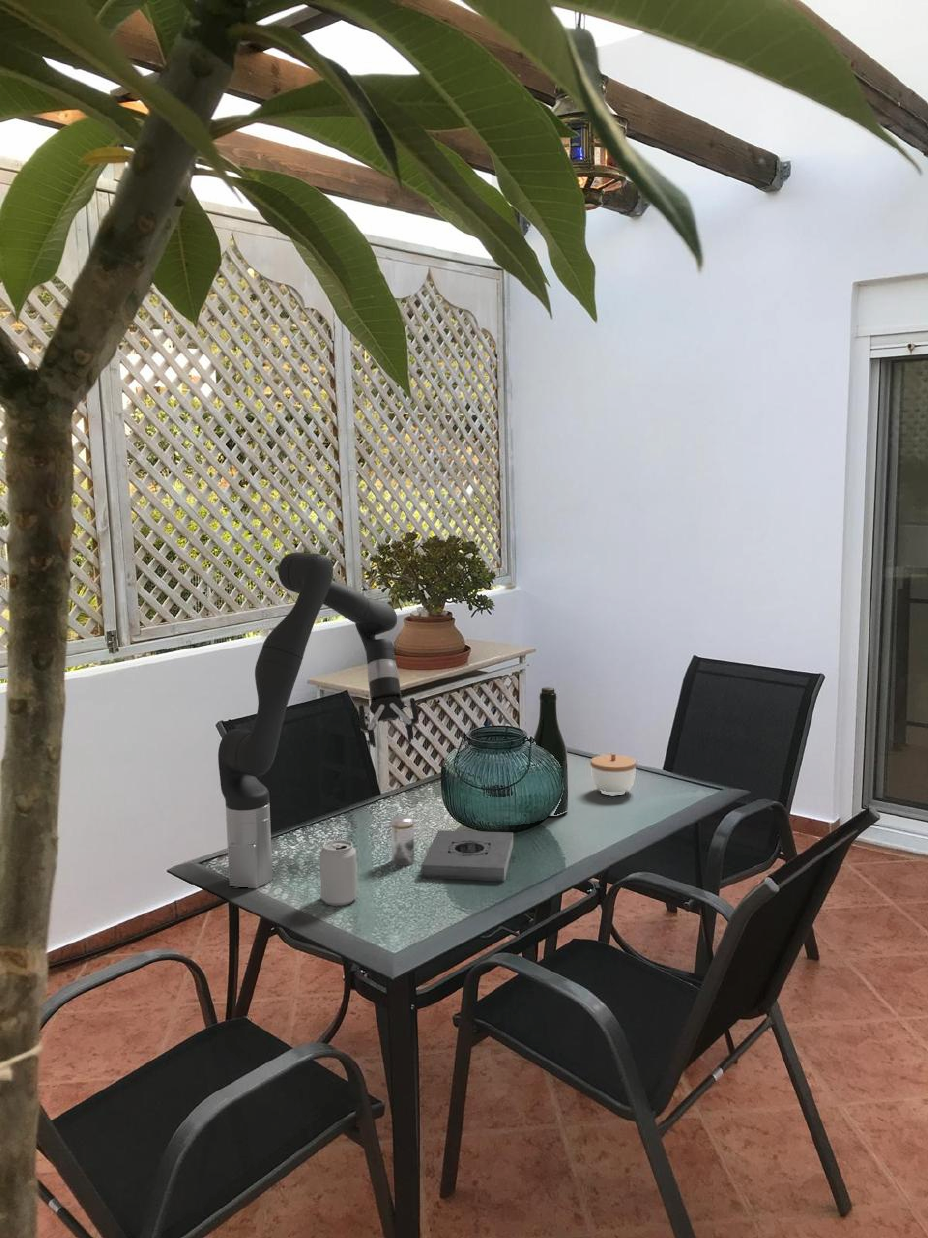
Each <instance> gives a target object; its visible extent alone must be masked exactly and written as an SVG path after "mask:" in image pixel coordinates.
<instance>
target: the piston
mask: <svg viewBox="0 0 928 1238" xmlns="http://www.w3.org/2000/svg"><path fill="white" fill-rule="evenodd" d="M390 820H391V821H390V826H391V858H392V861H391V863H392V864H393V865H395V866H400V867H401V866H402V867H405V866H410V865H412V864H414V863H415V839H414V838H415V836H414V832H415V830H414V824H415V822H414V817H412V816H409V815H397V816H394V817H391V819H390Z"/></svg>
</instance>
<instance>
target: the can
mask: <svg viewBox="0 0 928 1238" xmlns="http://www.w3.org/2000/svg"><path fill="white" fill-rule="evenodd" d="M321 846H322V849H321V850H320V851H319V853H318V854H319V874H320V875H319V876H320V881H319V882H320V898H321V900H322V901H324V902H325V903H326V904H327V905H329V906H334V907H339V906H340V907H341V906H345V905H349V904H351V903H353V901H354V900H355V899H356V898H357V897H358V872H357V871H358V870H357V849H356V848H354V847H353V846H354V844H353V842H352V841H349V840H346V839H333V840H329V841H327V842H325V843H323V844H322V845H321Z"/></svg>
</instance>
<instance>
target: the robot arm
mask: <svg viewBox="0 0 928 1238" xmlns="http://www.w3.org/2000/svg"><path fill="white" fill-rule="evenodd" d="M333 576H334V565H333V562H332V560H331V558H330V557H329V556H327V555H325V554H321V553H314V552H313V553H312V552H299V551H298V552H297V551H295V552H291V553H288V554H286V555H285V556H283V558H282V559H281V561H280V563H279V566H278V578H279V582H280V583H281V585H282V586H283V587H284V588H285V589H286V590H288V591H290V592H293V593H296V594H298V595H297V598H296V601H295V603H294V605H293V607H292V609H290V611H289V613H288V614H287V615H286V616H285V617H283V619H282V620H281V621H280V622H279V623H278V624H277V625H276V626H275V627H274V628H273V629H272V631H271V632H270V633H269V634H268V635H267V637H266V638H265V640H263V641H264V642H263V643H262V646H261V649H260V652H259V655H258V658H257V661H256V664H255V670H254V677H255V678H254V679H255V686H256V691H257V697H258V698H257V699H258V700H257V701H258V707H257V713H256V717H255V721H254V723H253V726H252V729H251V730H246V729H239V728H237V729H231V730H229V731H228V732H226V733H225V734H224V735H223V736H222V738H221V740H220V742H219V746H218V750H217V751H218V753H217V755H218V756H217V759H218V760H217V761H218V762H217V763H218V771H219V781H220V789H221V793H222V796H223V797H224V801H225V816H226V817H225V819H226V838H227V858H228V859H227V860H228V878H229V887H230V886H241V887H248V888H247V889H258V888H259V887H261V886H263V885H264V886H265V885H266V884H268V883H270V882H271V881H272V880H273V858H272V856H273V855H272V835H271V834H272V832H271V831H272V830H271V811H270V809H271V808H270V792H269V790H268V788H267V787H266V786H265V785H264V784H263V783H261V781H260V780H259V779H258V778H257V777H261V776H263V775H264V774H266V773H267V772H268V771H269V770H270V768H271V767H272V765H273V763H274V760H275V758H276V754H277V751H278V747H279V742H280V736H281V733H282V729H283V724H284V718H285V717H286V716H285V715H286V712H287V708H288V705H289V702H290V699H291V696H292V695H291V694H292V691H293V689H294V685H295V682H296V679H297V677H298V674H299V671H300V668H301V665H302V661H303V659H304V655H305V652H306V647H307V645H308V643H309V640H310V636H311V633H312V631H313V629H314V626H315V622H316V620H317V618H318V616H319V613H320V611H321V608H322V606H323V605H324V606H326V607H328V608H330V609H332V610H333V611H334V612H336V613H338V614H340V615H341V616H342V617H344V618H346V619H347V620H349V621H350V622H352V623H354V624H355V628H356V632H357V633H358V635H359V637H360V640H361V642H362V644H363V647H364V651H365V656H366V662H367V678H368V686H369V687H368V688H369V695H370V705H369V706H366V705H365V706H364V705H362V704H361V705H359V706H358V715H359V716H358V717H359V718H358V720H359V728H360V731H361V732H362V733H365V732H366V733H367V735H368V740H369V741H368V742H369V745H370V746H372V747H373V748H377V742H376V736H375V735H376V733H375V729H376V728H377V727H378V726H379V723H380V722H382V723H385V722H389V721H396V720H397V719H398V720H400V722H402V723H403V724H404V725H405V728H406V735H407V741H408V743H412V740H414V732H413V731H414V730H413V726H415V725H417V724H419V723H420V721H419V720H420V719H419V714H418V710H417V704H416V699H415V698H413V697H411V698H410V699H408V700H403V697H402V689H401V684H400V676H399V670H398V666H397V662H396V656H395V648H394V643H393V642H392V641H391V640H389V639H386V638H379V639H378V638H376V636H378V635H380V634H383V633H386V632H390V631H392V630H393V629H394V628H395V627H396V625H397V623H398V616H397V613H396V611H395V609H394V608H393V607H392V606H391V605H390V604H389V603H387V602H385V601H382V600H379V599H375V598H372V597H367V596H365V595H364V594H362V593H361V592H360V591H358V589H355V588H353V587H352V586H350V585H347V584H344V583H341V582H339V581H336V580H333ZM405 707H407V709H408V710H411V713H412V718H410V717H408V716H407V715H406V714H405V713H404V712H403V711H404V708H405ZM369 712H371V713H372V714H373V716H372V718H371V721H370V722H369V724H368V725H366V716H368V714H369Z"/></svg>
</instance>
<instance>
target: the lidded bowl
mask: <svg viewBox="0 0 928 1238" xmlns="http://www.w3.org/2000/svg"><path fill="white" fill-rule="evenodd" d="M636 767H637V761H636V759H634V758H632V757H630V756H627V755H621V754H620V755H619V754H616V753H614V752H613V753H610V754H603V755H597V756H594V757H592V758H591V759H590V775H591V779H592V782H593V785H594V786H595V788H596V789H597V790H598V789H599V790H602V791H606V792H622V791H626V790H628V791H630V789H631V788H632V787H633V785H634V783H635V779H636V772H637V771H636V770H637V768H636ZM599 790H598V791H599Z"/></svg>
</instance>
